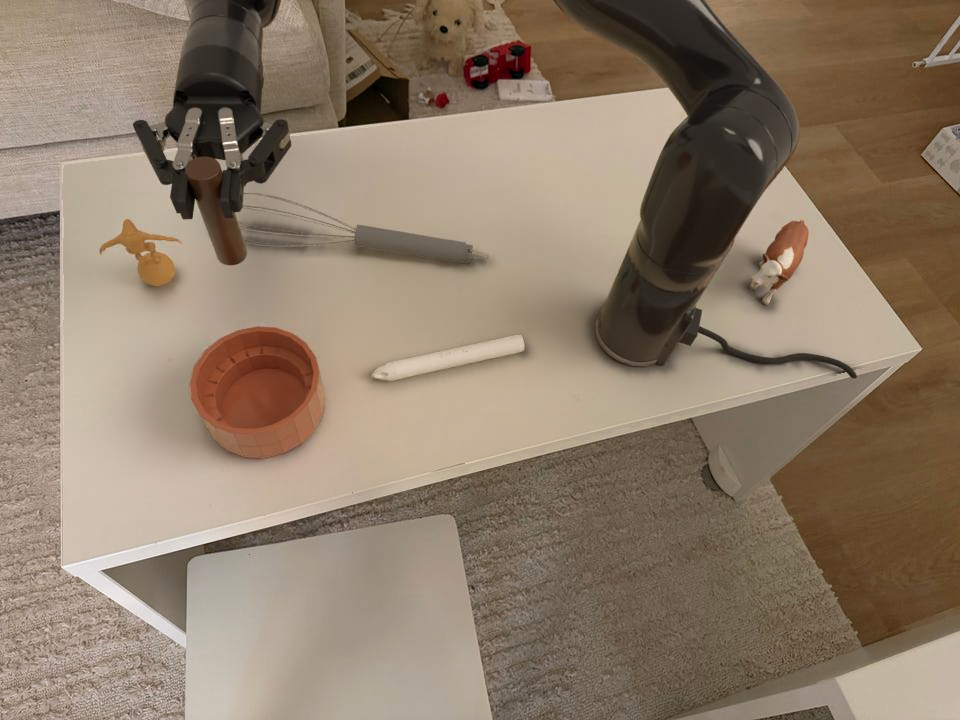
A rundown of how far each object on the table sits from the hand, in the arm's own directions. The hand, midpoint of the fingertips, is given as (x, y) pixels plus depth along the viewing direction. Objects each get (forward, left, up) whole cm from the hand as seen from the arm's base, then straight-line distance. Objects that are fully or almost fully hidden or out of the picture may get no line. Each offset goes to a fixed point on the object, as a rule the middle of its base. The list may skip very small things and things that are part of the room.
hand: (206, 211), depth 55 cm
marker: (-20, -8, -24) cm, 32 cm away
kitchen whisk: (-3, -20, -24) cm, 31 cm away
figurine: (+15, -5, -24) cm, 29 cm away
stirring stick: (+1, -3, -9) cm, 9 cm away
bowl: (-4, +5, -24) cm, 24 cm away
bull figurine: (-55, -35, -24) cm, 69 cm away
